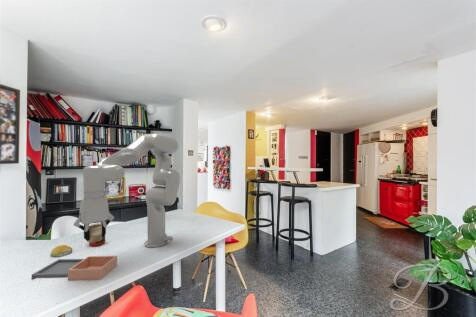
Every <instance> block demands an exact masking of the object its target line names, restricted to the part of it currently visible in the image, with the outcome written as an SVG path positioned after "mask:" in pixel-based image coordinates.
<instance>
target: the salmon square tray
mask: <svg viewBox="0 0 476 317" xmlns="http://www.w3.org/2000/svg"><path fill="white" fill-rule="evenodd" d="M83 259H84V260H82V261H81V262H79V263H78V264H76V265H75V266H73V267H72V268H70V269H69V270H68V277H67V281H96V280H97V281H101V280H102V279H103V278H104V277H105V276H106V275H108V274H109V273H110V272H111V271H112V270H113V269H114V268H115V267H116V266H117V265H118V256H117V255H89V256H87V257H85V258H83Z"/></svg>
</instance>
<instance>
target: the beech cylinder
mask: <svg viewBox="0 0 476 317" xmlns="http://www.w3.org/2000/svg"><path fill="white" fill-rule="evenodd" d="M95 224H96V223H95ZM90 225H91V224H90ZM88 231H89V241H87V242H88V244H89V243H94V242H98V241H101V240H102V225H101V224H96V225H91V226H89V228H88Z"/></svg>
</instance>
